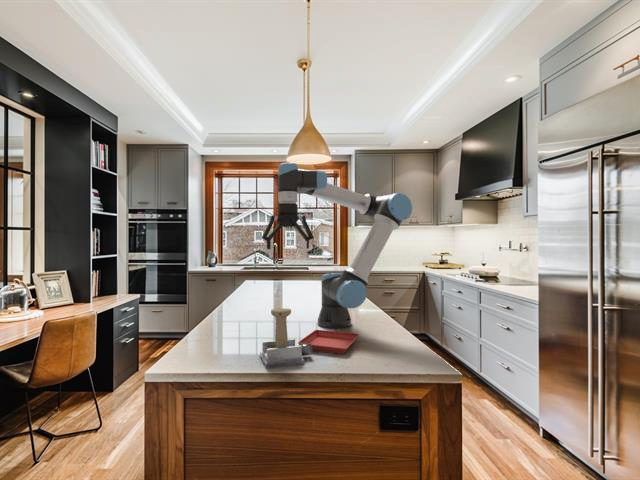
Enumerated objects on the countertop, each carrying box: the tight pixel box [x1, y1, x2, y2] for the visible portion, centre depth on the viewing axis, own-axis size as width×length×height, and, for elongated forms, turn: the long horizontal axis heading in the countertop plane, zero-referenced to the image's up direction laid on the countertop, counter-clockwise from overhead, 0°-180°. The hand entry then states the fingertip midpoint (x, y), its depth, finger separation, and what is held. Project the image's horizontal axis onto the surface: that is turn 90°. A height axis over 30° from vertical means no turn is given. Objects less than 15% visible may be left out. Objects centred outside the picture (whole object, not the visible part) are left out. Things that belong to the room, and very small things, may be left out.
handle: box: [270, 308, 292, 348], centre depth 120 cm, size 5×6×15 cm
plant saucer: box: [297, 329, 360, 355], centre depth 135 cm, size 18×18×3 cm
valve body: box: [259, 338, 313, 369], centre depth 121 cm, size 16×12×5 cm
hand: (288, 257), depth 144 cm, fingers open, 13 cm apart
